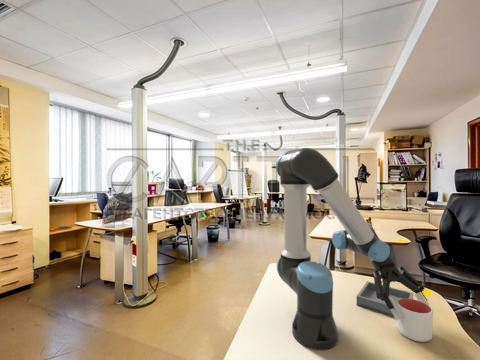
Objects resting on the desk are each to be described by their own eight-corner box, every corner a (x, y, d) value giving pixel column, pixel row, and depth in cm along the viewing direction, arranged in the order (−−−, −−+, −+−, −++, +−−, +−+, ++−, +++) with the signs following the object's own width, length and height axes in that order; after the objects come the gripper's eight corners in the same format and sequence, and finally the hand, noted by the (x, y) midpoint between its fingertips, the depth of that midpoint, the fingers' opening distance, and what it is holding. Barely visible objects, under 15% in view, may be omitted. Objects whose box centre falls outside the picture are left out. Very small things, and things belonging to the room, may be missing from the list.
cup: (429, 330, 86) (430, 302, 86) (434, 348, 77) (435, 317, 77) (395, 322, 91) (396, 295, 91) (397, 337, 83) (397, 308, 82)
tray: (356, 305, 103) (356, 295, 103) (367, 289, 116) (367, 281, 116) (408, 321, 91) (408, 311, 91) (413, 302, 105) (413, 292, 105)
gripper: (398, 259, 105) (434, 312, 91) (349, 265, 98) (379, 324, 84) (410, 250, 99) (450, 306, 86) (359, 257, 93) (393, 318, 79)
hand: (415, 315), depth 85 cm, fingers open, 13 cm apart
